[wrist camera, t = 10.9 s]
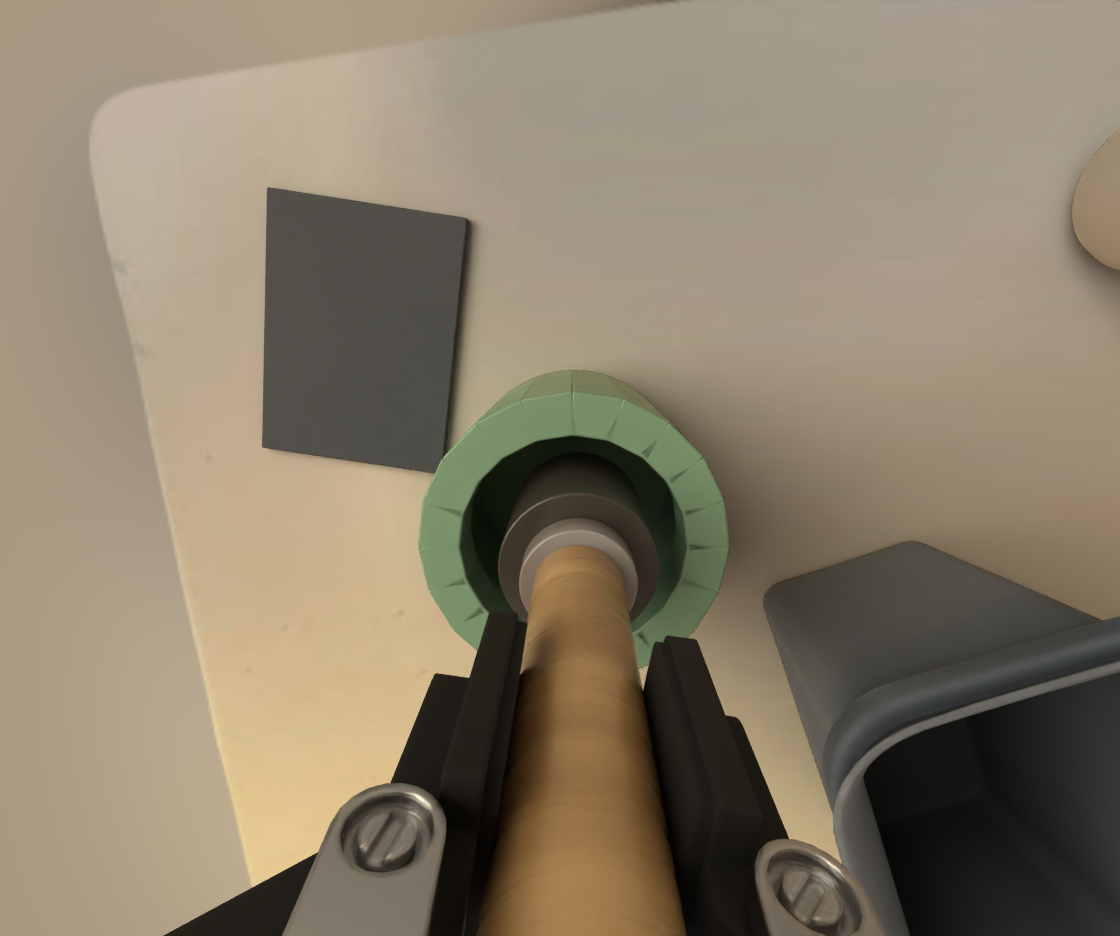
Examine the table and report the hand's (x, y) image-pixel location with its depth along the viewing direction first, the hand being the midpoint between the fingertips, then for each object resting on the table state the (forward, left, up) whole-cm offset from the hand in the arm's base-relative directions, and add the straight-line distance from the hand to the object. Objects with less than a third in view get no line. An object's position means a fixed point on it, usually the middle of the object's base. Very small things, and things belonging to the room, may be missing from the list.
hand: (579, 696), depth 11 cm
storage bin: (+9, +19, -18) cm, 28 cm away
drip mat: (-5, -11, -18) cm, 22 cm away
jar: (0, 0, -18) cm, 18 cm away
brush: (0, 0, -11) cm, 11 cm away
